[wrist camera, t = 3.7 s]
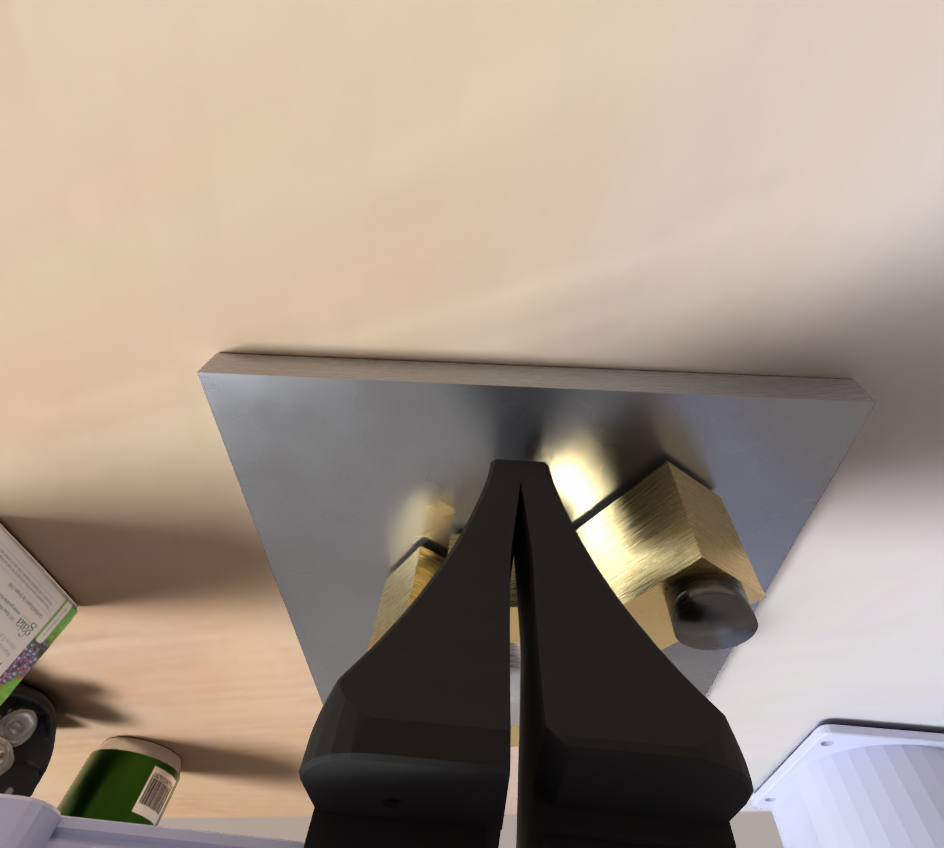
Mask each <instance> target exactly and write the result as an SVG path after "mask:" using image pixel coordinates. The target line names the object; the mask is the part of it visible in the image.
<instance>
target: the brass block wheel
mask: <svg viewBox="0 0 944 848" xmlns="http://www.w3.org/2000/svg"><path fill="white" fill-rule="evenodd" d="M576 532H577V534H578V535H579V537H580V539H581V541H582V543H583V544H584V546H585V548H586V550H587V551H588V553H589V555H590V556H591V558H592V560H593V561H594V563H595V565H596V566H597V568H598V569H599V571H600V572H601V574H602V575H603V577H604V578H605V580H606V581H607V583H608V584H609V586H610V587H611V588H612V590H613V591H614V593H615V594H616V596H617V597H618V598H619V600H620V601H621V602H622V604H623V605H624V606H625V608H626V609H627V610H628V612H629V613H630V614H631V615H632V617H633V618H634V619H635V620H636V621H637V623H638V624H639V625H640V626H641V627H642V629H643V630H644V631H645V632H646V633H647V635H648V636H649V637H650V638H651V639H652V641H653V642H654V643H655V644H656V645H657V647H658V648H659V649H660V650H662V649H664V648H666V647H668V646H670V645H672V644H674V643H676V642H678V641H679V642H681V643H682V644H684V645H686V646H688V647H691V648H695V649H700V650H720V649H726V648H730V647H734V646H737V645H739V644H741V643H743V642H745V641H747V640H748V639H750V638H751V637H752V636H753V635H754V634H755V632H756V630H757V628H758V622H757V619H756V617H755V615H754V612H753V610H752V607H751V604H753V603H755V602H757V601H759V600H761V599H763V598H765V597H766V596H765V594H764V592H763V589H762V587H761V585H760V583H759V580H758V578H757V576H756V574H755V572H754V569H753V567H752V565H751V563H750V561H749V558H748V556H747V554H746V552H745V550H744V547H743V545H742V543H741V541H740V539H739V536H738V534H737V532H736V530H735V527H734V525H733V523H732V521H731V519H730V516H729V514H728V512H727V510H726V508H725V505H724V503H723V501H722V499H721V497H720V496H718V495H717V494H715V493H714V492H712V491H711V490H709V489H708V488H706V487H705V486H703V485H702V484H701V483H699V482H698V481H696V480H695V479H693V478H692V477H690V476H689V475H687V474H686V473H684V472H683V471H682V470H680V469H679V468H677V467H676V466H674V465H673V464H671V463H670V462H668V461H667V462H665V463H664V464H663V465H661V466H660V467H659V468H658V469H656V470H655V471H654V472H652V473H651V474H650V475H648V476H647V477H646V478H644V479H643V480H642V481H640V482H639V483H638V484H636V485H635V486H634V487H632V488H631V489H630V490H629V491H627V492H626V493H625V494H623V495H622V496H621V497H619V498H618V499H617V500H615V501H614V502H613V503H611V504H610V505H609V506H607V507H606V508H605V509H604V510H602V511H601V512H600V513H598V514H597V515H596V516H594V517H593V518H592V519H590V520H589V521H588V522H586V523H585V524H584V525H582V526H581V527H580V528H578V529H577V530H576ZM459 536H460V534H451V535H450V542H449V548H448V554H449V552H450V551H451V549H452V548H453V546H454V544H455V542H456V541H457V539H458V537H459ZM444 560H445V558H444V557H442V556H440V555H438V554H436V553H434V552H432V551H430V550H428V549H426V548H424V547H422V546H420V547H419V548H418V549H417V550H416V551H415V552H414V553H413V554H412V555H411V556H410V557H409V558H407V559H406V560H405V561H404V562H403V563H402V564H401V565H400V566H399V567H398V568H397V569H396V570H395V571H394V572H393V573H392V574H391V575H390V576H389V577H388V578H387V579H386V582H385V585H384V589H383V593H382V597H381V601H380V605H379V608H378V612H377V616H376V620H375V624H374V628H373V631H372V635H371V639H370V643H369V647H368V650H369V649H371V648H372V647H373V646H374V645H375V644H376V642H377V641H378V640H379V639H380V638H381V637H382V636H383V635H384V634H385V633H386V632H387V631H388V630H389V629H390V627H391V626H392V625H393V624H394V623H395V622H396V621H397V620H398V619H399V618H400V616H401V615H402V614H403V613H404V612H405V611H406V610H407V609H408V607H409V606H410V605H411V604H412V603H413V601H414V600H415V599H416V598H417V596H418V595H419V594H420V593H421V591H422V590H423V589H424V587H425V586H426V585H427V584H428V582H429V581H430V580H431V578H432V577H433V576H434V574H435V573H436V571H437V570H438V569H439V567H440V566H441V564H442V563H443V561H444ZM510 642H520V633H519V620H518V606H517V592H516V579H515V565H514V558H513V566H512V574H511V582H510ZM511 746H519V726H511Z"/></svg>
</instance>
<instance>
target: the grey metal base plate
mask: <svg viewBox="0 0 944 848" xmlns="http://www.w3.org/2000/svg"><path fill="white" fill-rule="evenodd" d="M197 373H198V376H199V379H200V381H201V384H202V387H203V389H204V392H205V395H206V397H207V400H208V402H209V405H210V408H211V410H212V413H213V416H214V418H215V421H216V424H217V426H218V429H219V431H220V434H221V437H222V439H223V442H224V445H225V447H226V450H227V453H228V455H229V458H230V460H231V463H232V466H233V468H234V471H235V474H236V476H237V479H238V482H239V484H240V487H241V489H242V492H243V495H244V497H245V500H246V503H247V505H248V508H249V511H250V513H251V516H252V519H253V521H254V524H255V526H256V529H257V532H258V534H259V537H260V540H261V542H262V545H263V548H264V550H265V553H266V555H267V558H268V561H269V563H270V566H271V569H272V571H273V574H274V577H275V579H276V582H277V584H278V587H279V590H280V592H281V595H282V598H283V600H284V603H285V606H286V608H287V611H288V613H289V616H290V619H291V621H292V624H293V627H294V629H295V632H296V635H297V637H298V640H299V642H300V645H301V648H302V650H303V653H304V656H305V658H306V661H307V664H308V666H309V669H310V672H311V674H312V677H313V679H314V682H315V685H316V687H317V690H318V693H319V695H320V698H321V701H322V703H323V706H324V704H325V702H326V700H327V698H328V696H329V694H330V693H331V691H332V689H333V687H334V685H335V684H336V682H337V680H338V679H339V678H340V677H341V676H342V675H343V674H344V673H345V672H346V671H347V670H348V669H349V668H351V667H352V666H353V665H354V664H355V663H356V662H357V661H358V660H359V659H360V658H361V657H362V656H363V655H364V654H365V653H366V652H367V651H368V647H369V643H370V639H371V635H372V631H373V628H374V624H375V620H376V616H377V612H378V608H379V605H380V601H381V597H382V593H383V589H384V585H385V582H386V579H387V578H388V577H389V576H390V575H391V574H392V573H393V572H394V571H395V570H396V569H397V568H398V567H399V566H400V565H401V564H402V563H403V562H404V561H405V560H406V559H407V558H409V557H410V556H411V555H412V554H413V553H414V552H415V551H416V550H417V549H418V548H419V547H420V546H422V547H424V548H426V549H428V550H430V551H432V552H434V553H436V554H438V555H440V556H442V557H444V558H446V557H447V555H448V548H449V542H450V535H451V534H461V532H462V530H463V529H464V527H465V525H466V524H467V522H468V520H469V518H470V516H471V514H472V512H473V510H474V508H475V506H476V503H477V501H478V499H479V497H480V495H481V492H482V490H483V488H484V485H485V482H486V479H487V476H488V473H489V469H490V464H491V462H492V461H493V460H495V459H503V460H520V461H537V462H545V463H546V464H547V465H548V466H549V469H550V472H551V475H552V478H553V481H554V484H555V487H556V489H557V492H558V494H559V496H560V499H561V501H562V503H563V506H564V508H565V510H566V512H567V514H568V516H569V518H570V520H571V522H572V524H573V526H574V528H575V530H577V529H578V528H580V527H581V526H582V525H584V524H585V523H586V522H588V521H589V520H590V519H592V518H593V517H594V516H596V515H597V514H598V513H600V512H601V511H602V510H604V509H605V508H606V507H607V506H609V505H610V504H611V503H613V502H614V501H615V500H617V499H618V498H619V497H621V496H622V495H623V494H625V493H626V492H627V491H629V490H630V489H631V488H632V487H634V486H635V485H636V484H638V483H639V482H640V481H642V480H643V479H644V478H646V477H647V476H648V475H650V474H651V473H652V472H654V471H655V470H656V469H658V468H659V467H660V466H661V465H663V464H664V463H665V462H667V461H668V462H670V463H671V464H673V465H674V466H676V467H677V468H679V469H680V470H682V471H683V472H684V473H686V474H687V475H689V476H690V477H692V478H693V479H695V480H696V481H698V482H699V483H701V484H702V485H703V486H705V487H706V488H708V489H709V490H711V491H712V492H714V493H715V494H717V495H718V496H720V497H721V499H722V501H723V503H724V505H725V508H726V510H727V512H728V514H729V516H730V519H731V521H732V523H733V525H734V527H735V530H736V532H737V534H738V536H739V539H740V541H741V543H742V545H743V547H744V550H745V552H746V554H747V556H748V558H749V561H750V563H751V565H752V567H753V569H754V572H755V574H756V576H757V578H758V580H759V583H760V585H761V587H762V589H763V592H764V593H765V591H766V589H767V588H768V586H769V584H770V583H771V581H772V579H773V577H774V576H775V574H776V572H777V571H778V569H779V567H780V565H781V564H782V562H783V560H784V559H785V557H786V555H787V553H788V552H789V550H790V548H791V547H792V545H793V543H794V541H795V540H796V538H797V536H798V535H799V533H800V531H801V530H802V528H803V526H804V524H805V523H806V521H807V519H808V518H809V516H810V514H811V512H812V511H813V509H814V507H815V506H816V504H817V502H818V500H819V499H820V497H821V495H822V494H823V492H824V490H825V488H826V487H827V485H828V483H829V482H830V480H831V478H832V476H833V475H834V473H835V471H836V470H837V468H838V466H839V465H840V463H841V461H842V459H843V458H844V456H845V454H846V453H847V451H848V449H849V447H850V446H851V444H852V442H853V441H854V439H855V437H856V435H857V434H858V432H859V430H860V429H861V427H862V425H863V423H864V422H865V420H866V418H867V417H868V415H869V413H870V411H871V410H872V408H873V406H874V405H875V403H876V402H875V401H874V400H873V399H872V398H871V397H870V396H869V395H868V394H867V393H866V392H865V391H864V390H863V389H862V388H861V387H860V386H858V385H857V384H856V383H855V382H854V381H853V380H852V379H830V378H806V377H782V376H758V375H733V374H709V373H685V372H661V371H637V370H613V369H589V368H565V367H541V366H516V365H492V364H468V363H444V362H420V361H396V360H372V359H348V358H324V357H299V356H275V355H251V354H227V353H217V354H216V355H215V356H214V357H212V358H211V359H210V360H209V361H208V362H207V363H206V364H205V365H204V366H203V367H202V368H201V369H200V370H199V371H198V372H197ZM759 601H760V600H759ZM759 601H757V602H755V603H753V604H751V607H752V610H753V612H754V610H755V608H756V606H757V605H758V603H759ZM732 648H733V647H730V648H726V649H720V650H700V649H695V648H691V647H688V646H686V645H684V644H682V643H681V642H679V641H678V642H676V643H674V644H672V645H670V646H668V647H666V648H664V649H662V650H661V651H662V652H663V653H664V654H665V655H666V657H667V658H668V659H669V660H670V661H671V662H672V663H673V664H674V665H675V666H676V667H677V668H678V670H679V671H680V672H681V673H682V674H683V675H684V676H685V677H686V678H687V679H688V680H689V681H690V682H691V683H692V684H693V685H694V686H695V687H696V688H697V689H698V690H699V691H700V692H701V693H702V694H703V695H705V694H706V692H707V690H708V689H709V687H710V685H711V683H712V682H713V680H714V678H715V677H716V675H717V673H718V671H719V670H720V668H721V666H722V665H723V663H724V661H725V660H726V658H727V656H728V654H729V653H730V651H731V649H732ZM520 659H521V656H520V642H510V712H511V726H519V718H520Z"/></svg>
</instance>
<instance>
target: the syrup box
mask: <svg viewBox="0 0 944 848" xmlns="http://www.w3.org/2000/svg"><path fill="white" fill-rule="evenodd" d="M77 607H78V606H77V605H76V603H75V602H74V601H73V600H72V599H71V598H70V597H69V595H68V594H67V593H66V592H65V591H64V590H63V589H62V588H61V587H60V586H59V585H58V584H57V583H56V581H55V580H54V579H53V578H52V577H51V576H50V575H49V574H48V573H47V571H46V570H45V569H44V568H43V567H42V566H41V565H40V564H39V563H38V562H37V561H36V560H35V559H34V558H33V557H32V556H31V554H30V553H29V552H28V551H27V550H26V549H25V548H24V547H23V546H22V545H21V544H20V543H19V542H18V541H17V540H16V539H15V538H14V537H13V536H12V535H11V534H10V533H9V532H8V531H7V530H6V529H5V528H4V526H3V525H2V524H1V523H0V706H1V704H2V703H3V702H4V701H5V700H6V699H7V698H8V696H9V695H10V694H11V693H12V691H13V690H14V689H15V687H16V686H17V685H18V684H19V683H20V682H21V680H22V679H23V678H24V677H25V675H26V674H27V673H28V672H29V671H30V670H31V668H32V667H33V666H34V665H35V663H36V662H37V661H38V659H39V658H40V657H41V656H42V655H43V654H44V652H45V651H46V650H47V649H48V648H49V646H50V645H51V644H52V643H53V641H54V640H55V639H56V638H57V637H58V635H59V634H60V633H61V632H62V631H63V629H64V628H65V627H66V626H67V625H68V624H69V622H70V621H71V620H72V619H73V618H74V616H75V615H76V614H77Z"/></svg>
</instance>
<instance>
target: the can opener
mask: <svg viewBox="0 0 944 848" xmlns="http://www.w3.org/2000/svg"><path fill="white" fill-rule="evenodd" d="M56 725H57V717H56V713H55V709H54V707H53V705H52V703H51V702H50V700H49V699H48V698H47V697H46V696H45V695H44V694H42V693H41V692H39V691H38V690H36V689H34V688H32V687H29V686H26V685H22V684H18V685H17V686H16V687H15V689H14V690H13V691H12V693H11V694H10V695H9V696H8V698H7V699H6V700H5V701H4V702H3V703H2V704H1V706H0V793H1V794H10V795H19V796H27V797H30V796H31V795H32V794H33V792H34V789H35V788H36V786H37V784H38V783H39V781H40V780H41V778H42V776H43V774H44V773H45V771H46V769H47V767H48V764H49V761H50V759H51V756H52V752H53V748H54V742H55V734H56Z"/></svg>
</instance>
